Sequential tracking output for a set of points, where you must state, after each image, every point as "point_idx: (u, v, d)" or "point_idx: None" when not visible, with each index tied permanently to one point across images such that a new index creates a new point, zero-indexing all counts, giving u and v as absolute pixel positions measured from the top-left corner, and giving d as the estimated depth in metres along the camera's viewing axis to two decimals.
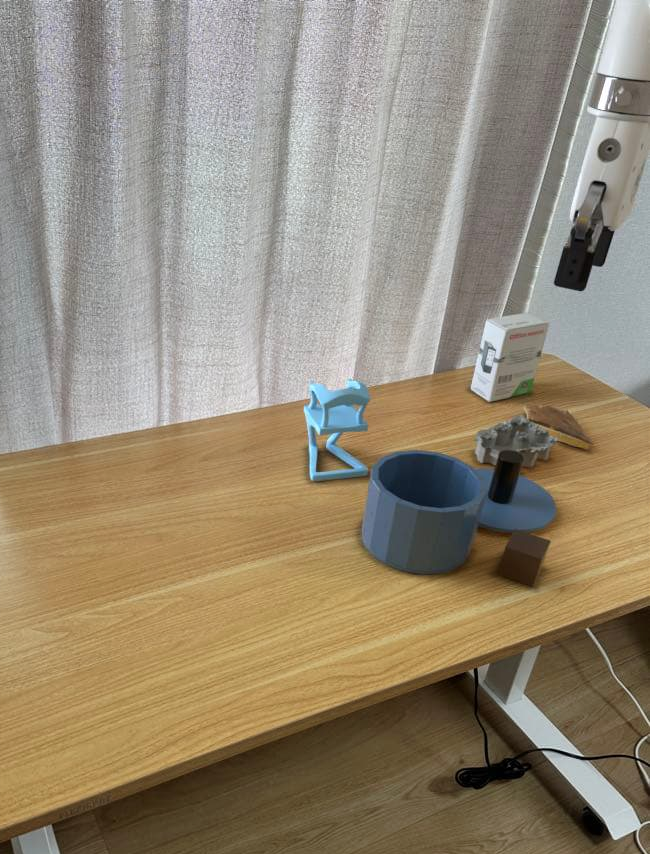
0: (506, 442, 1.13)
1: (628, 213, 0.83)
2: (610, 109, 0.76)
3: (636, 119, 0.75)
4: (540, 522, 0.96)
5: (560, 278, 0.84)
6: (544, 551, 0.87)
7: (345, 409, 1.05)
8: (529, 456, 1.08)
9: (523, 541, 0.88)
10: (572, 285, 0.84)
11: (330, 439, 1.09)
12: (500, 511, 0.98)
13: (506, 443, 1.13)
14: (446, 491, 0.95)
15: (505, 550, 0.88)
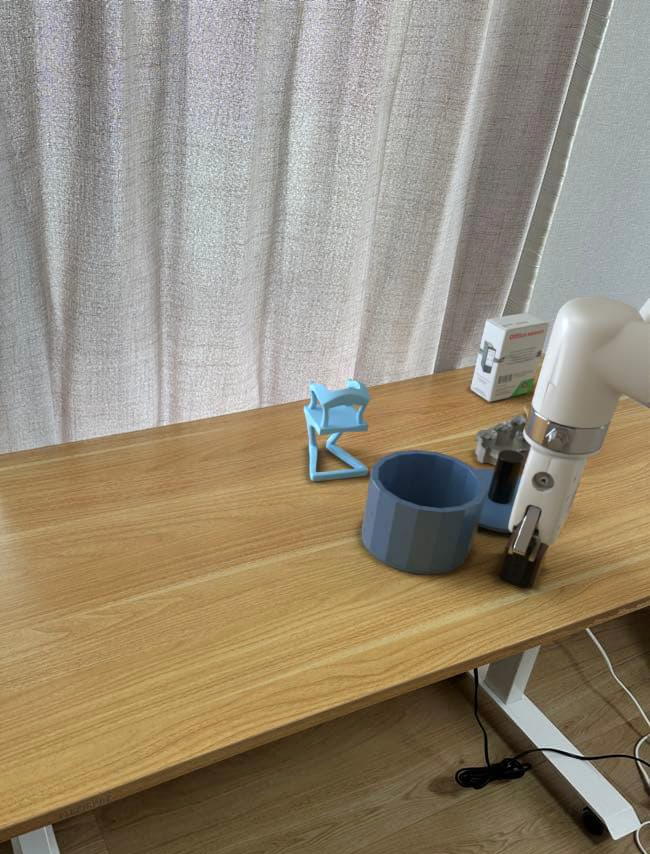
0: (506, 442, 1.13)
1: (567, 516, 0.85)
2: (543, 445, 0.78)
3: (568, 457, 0.77)
4: None
5: (505, 574, 0.88)
6: (544, 551, 0.87)
7: (345, 409, 1.05)
8: None
9: None
10: None
11: (330, 439, 1.09)
12: (500, 511, 0.98)
13: (506, 443, 1.13)
14: (446, 491, 0.95)
15: (505, 550, 0.88)
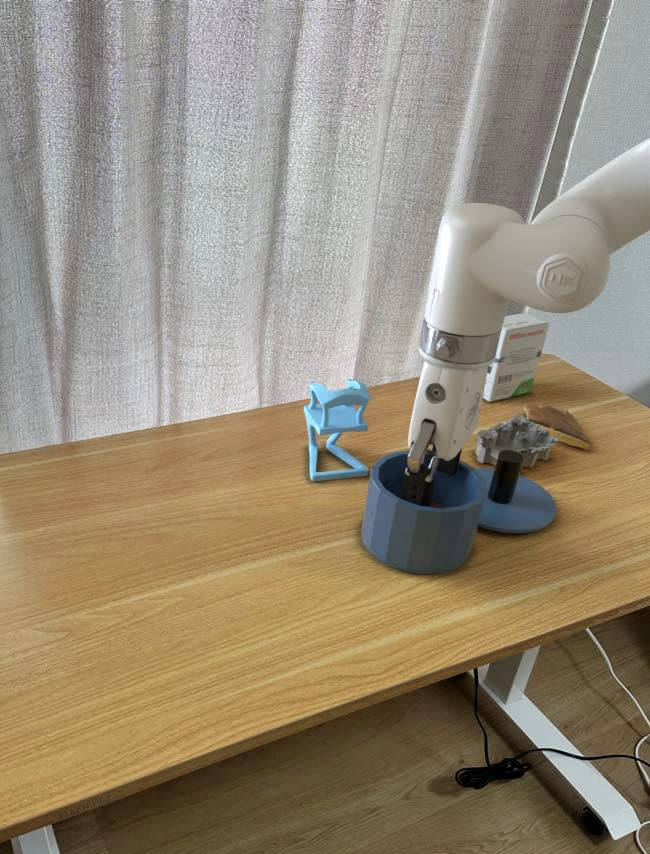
0: (506, 442, 1.13)
1: (469, 435, 0.85)
2: (434, 356, 0.78)
3: (459, 367, 0.77)
4: (540, 522, 0.96)
5: (406, 498, 0.86)
6: None
7: (345, 409, 1.05)
8: (529, 456, 1.08)
9: None
10: None
11: (330, 439, 1.09)
12: (500, 511, 0.98)
13: (506, 443, 1.13)
14: (446, 491, 0.95)
15: None
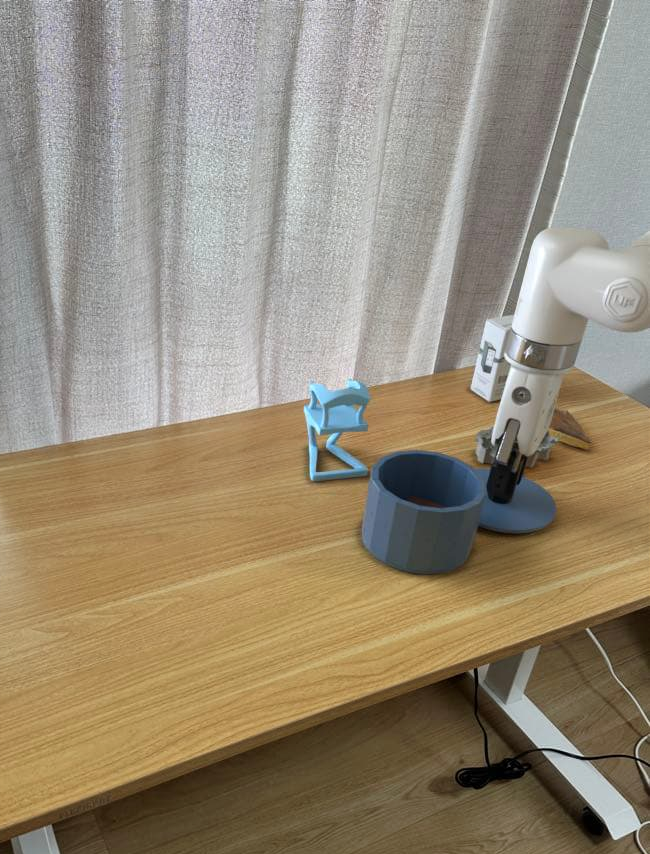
0: None
1: (544, 433, 0.95)
2: (521, 362, 0.87)
3: (543, 372, 0.86)
4: (540, 522, 0.96)
5: (490, 487, 0.98)
6: None
7: (345, 409, 1.05)
8: (529, 456, 1.08)
9: None
10: (500, 493, 0.98)
11: (330, 439, 1.09)
12: (500, 511, 0.98)
13: None
14: (446, 491, 0.95)
15: None
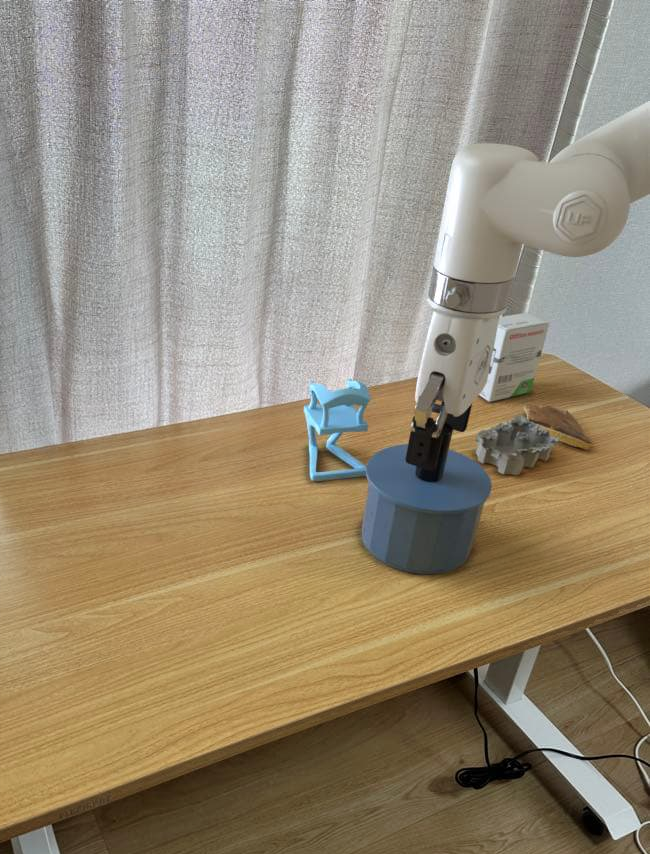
0: (507, 442, 1.13)
1: (478, 392, 0.82)
2: (444, 305, 0.75)
3: (469, 316, 0.74)
4: (471, 502, 0.85)
5: (411, 456, 0.83)
6: None
7: (345, 409, 1.05)
8: (530, 456, 1.08)
9: None
10: (422, 464, 0.83)
11: (330, 439, 1.09)
12: (427, 490, 0.86)
13: (507, 443, 1.13)
14: None
15: None
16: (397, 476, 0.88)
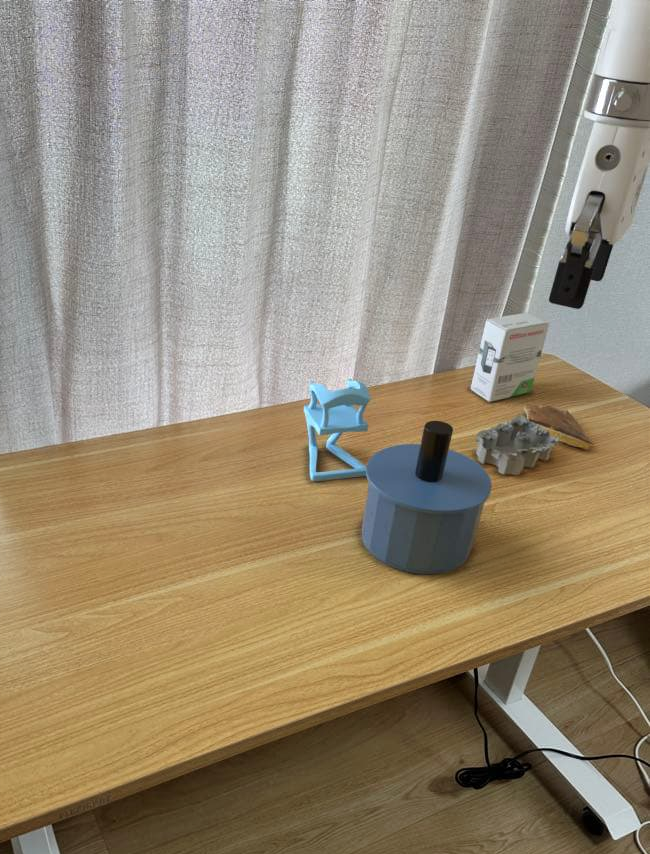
0: (507, 442, 1.13)
1: (628, 225, 0.78)
2: (609, 114, 0.70)
3: (637, 124, 0.69)
4: (471, 502, 0.85)
5: (556, 295, 0.78)
6: None
7: (345, 409, 1.05)
8: (530, 456, 1.08)
9: None
10: (568, 302, 0.78)
11: (330, 439, 1.09)
12: (427, 490, 0.86)
13: (507, 443, 1.13)
14: None
15: None
16: (397, 476, 0.88)
